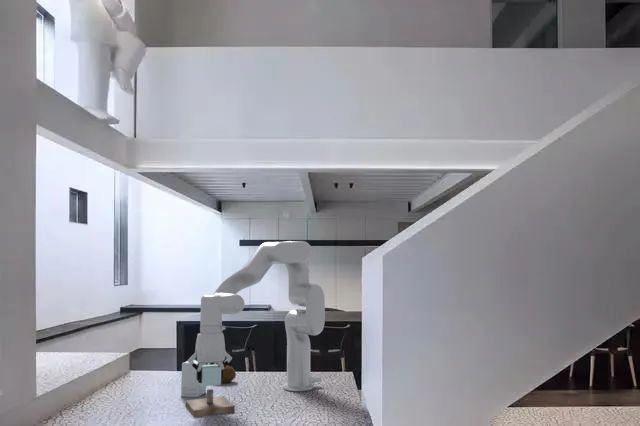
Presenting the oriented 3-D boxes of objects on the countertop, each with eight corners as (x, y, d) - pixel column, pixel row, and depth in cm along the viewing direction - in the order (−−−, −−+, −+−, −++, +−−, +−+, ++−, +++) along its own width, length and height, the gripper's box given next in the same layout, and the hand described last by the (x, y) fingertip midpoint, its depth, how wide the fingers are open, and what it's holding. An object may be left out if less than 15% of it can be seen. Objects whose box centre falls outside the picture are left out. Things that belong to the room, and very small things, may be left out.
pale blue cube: (216, 380, 198) (216, 364, 199) (220, 384, 192) (221, 367, 193) (198, 382, 195) (199, 365, 196) (202, 386, 190) (203, 369, 190)
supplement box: (198, 397, 209) (199, 363, 209) (180, 396, 210) (181, 362, 211) (206, 392, 216) (207, 360, 217) (188, 391, 217) (189, 359, 218)
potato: (234, 384, 230) (234, 365, 230) (204, 384, 229) (205, 365, 230) (237, 380, 238) (237, 361, 238) (208, 380, 238) (208, 361, 238)
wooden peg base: (224, 401, 203) (224, 383, 203) (234, 411, 190) (234, 392, 190) (185, 406, 197) (186, 387, 197) (193, 416, 184) (194, 396, 185)
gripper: (231, 327, 202) (230, 377, 201) (184, 329, 195) (182, 381, 194) (237, 330, 196) (236, 381, 194) (188, 332, 188) (187, 386, 187)
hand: (209, 380), depth 194 cm, fingers closed on pale blue cube, 6 cm apart
